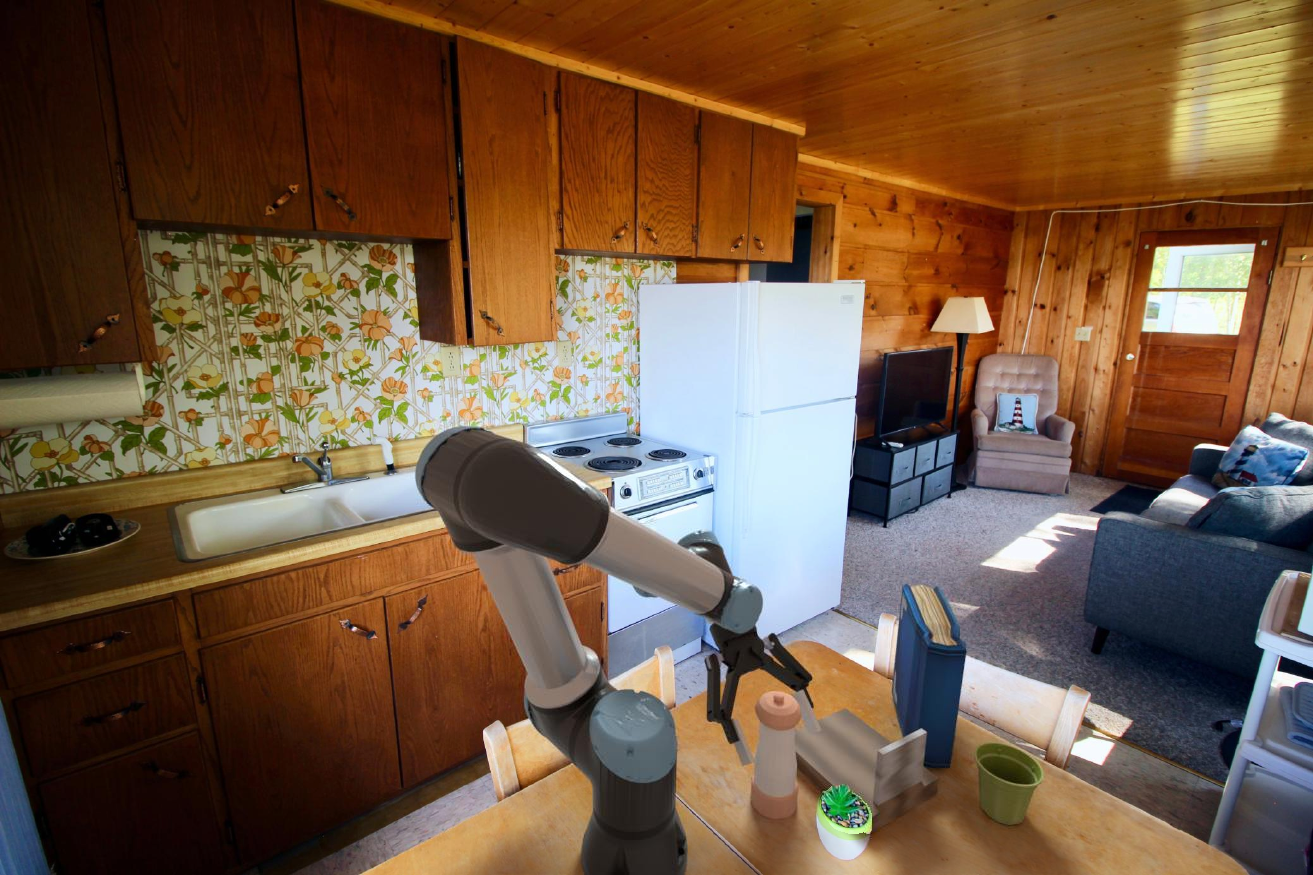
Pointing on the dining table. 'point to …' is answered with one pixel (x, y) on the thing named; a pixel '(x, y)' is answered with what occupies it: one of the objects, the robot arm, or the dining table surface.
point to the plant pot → (1006, 781)
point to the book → (928, 671)
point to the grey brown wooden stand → (867, 765)
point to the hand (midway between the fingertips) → (783, 748)
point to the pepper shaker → (776, 756)
